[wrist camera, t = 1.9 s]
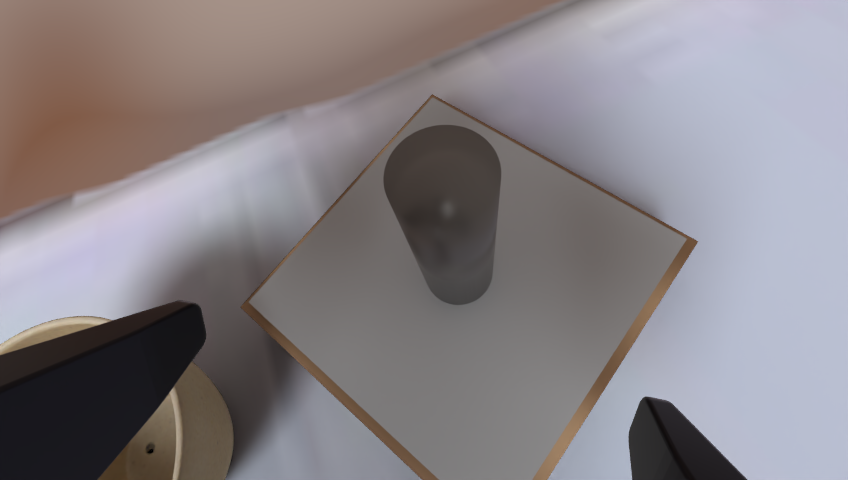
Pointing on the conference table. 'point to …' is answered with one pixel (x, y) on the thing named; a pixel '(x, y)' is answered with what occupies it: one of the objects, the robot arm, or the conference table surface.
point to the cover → (468, 294)
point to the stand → (586, 404)
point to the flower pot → (161, 421)
